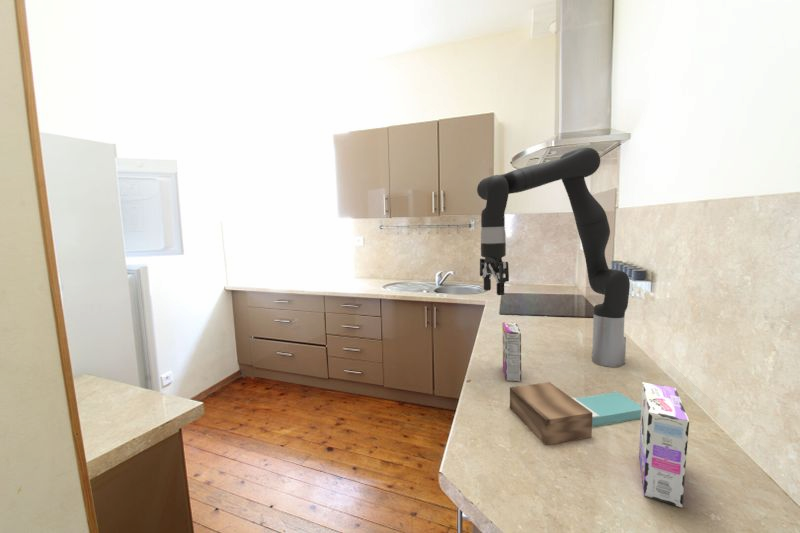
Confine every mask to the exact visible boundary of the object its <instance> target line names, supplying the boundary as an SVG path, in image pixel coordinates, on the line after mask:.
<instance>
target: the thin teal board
mask: <svg viewBox="0 0 800 533" xmlns="http://www.w3.org/2000/svg"><path fill="white" fill-rule="evenodd" d="M572 398H573V399H574V400H575V401H577V402H578V403H580V404H581V405H582V406H584V407H585V408H587V409H588V410H589V411H591V412H592V428H594V427H598V426H603V425H604V426H605V425H611V424H617V423H622V422H627V421H633V420H639V419H640V420H641V403H638V402H636V401H634V400H633V399H631V398H629V397H627V396H626V395H625V394H624V395H623V394H622V393H620V392H619V391H616V392H608V393H601V394H596V395H595V394H594V395H591V396H588V395H587V396H582V397H576V398H575V397H572Z"/></svg>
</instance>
